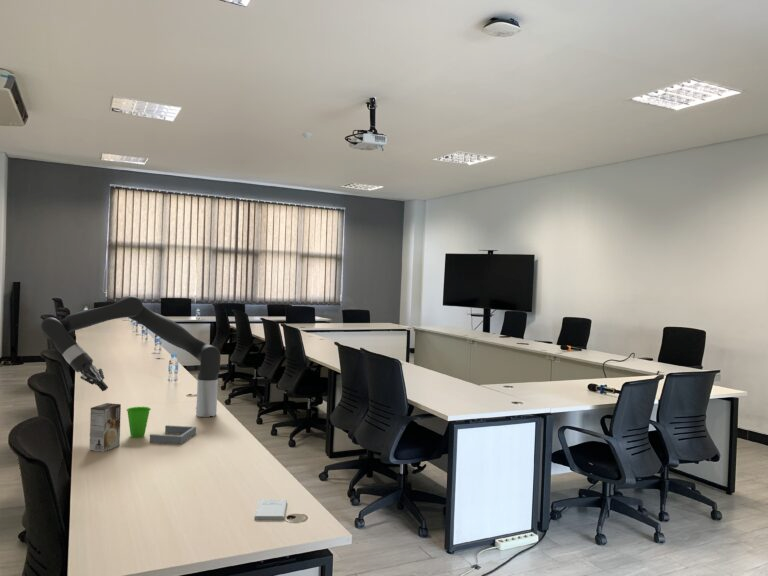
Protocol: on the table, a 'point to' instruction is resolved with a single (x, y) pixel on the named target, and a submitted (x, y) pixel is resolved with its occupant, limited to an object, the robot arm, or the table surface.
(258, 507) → the external hard drive
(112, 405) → the coffee box
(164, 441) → the grey cradle
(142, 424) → the cup
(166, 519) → the table surface
